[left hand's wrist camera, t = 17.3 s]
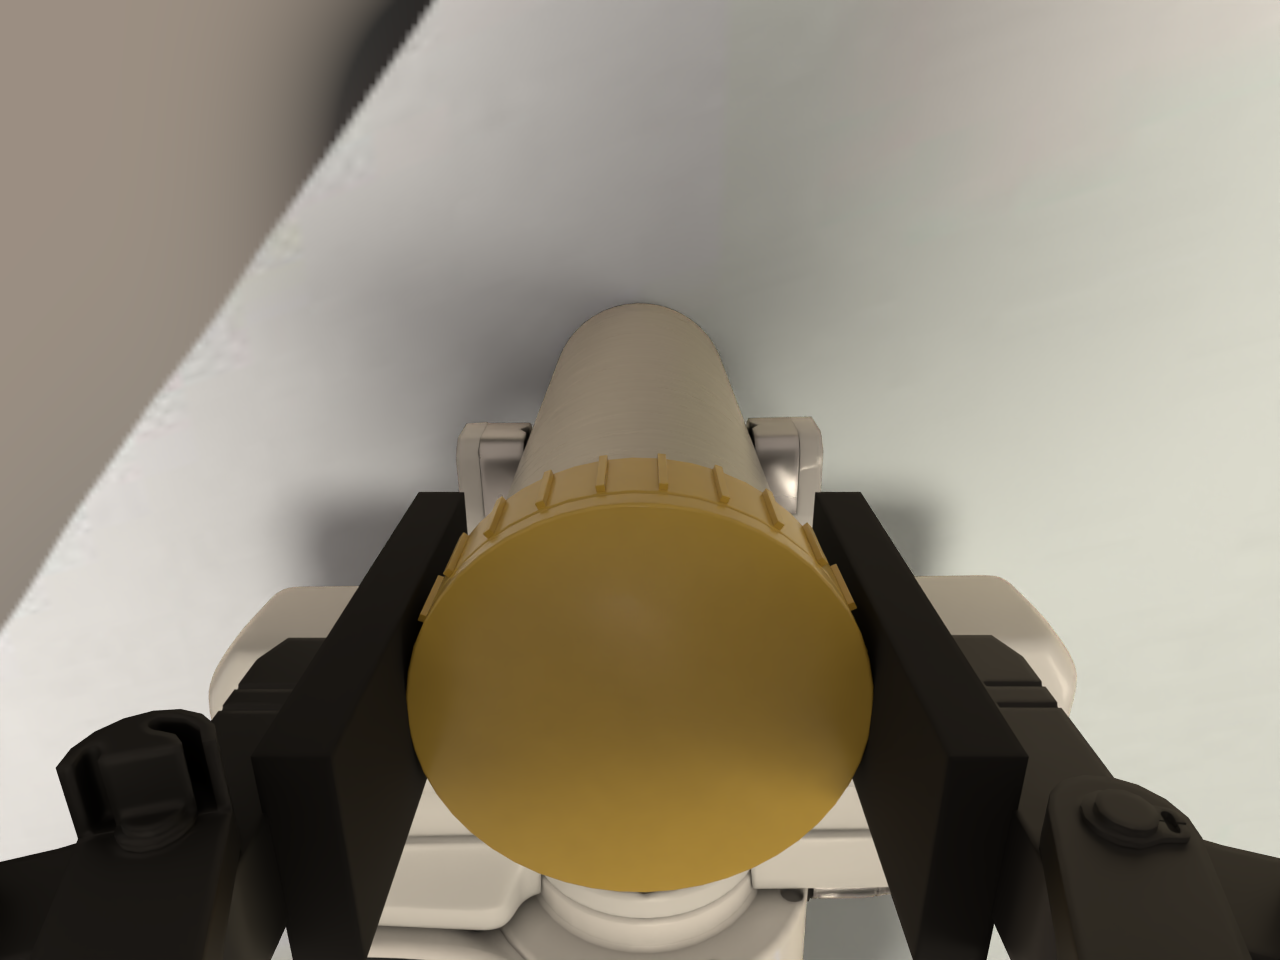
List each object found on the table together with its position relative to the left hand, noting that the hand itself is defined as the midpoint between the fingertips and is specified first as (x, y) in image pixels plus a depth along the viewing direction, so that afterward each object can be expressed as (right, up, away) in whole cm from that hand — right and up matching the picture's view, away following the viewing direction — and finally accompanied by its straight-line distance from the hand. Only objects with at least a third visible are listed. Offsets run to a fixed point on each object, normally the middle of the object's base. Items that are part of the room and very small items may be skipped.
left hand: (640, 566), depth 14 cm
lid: (0, -1, -3) cm, 4 cm away
